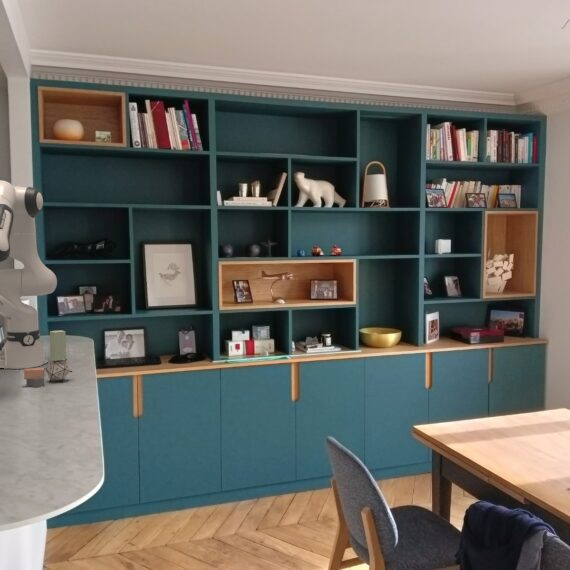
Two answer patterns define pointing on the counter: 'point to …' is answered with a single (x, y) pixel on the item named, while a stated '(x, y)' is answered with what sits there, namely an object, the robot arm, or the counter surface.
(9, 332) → the robot arm
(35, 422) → the counter surface
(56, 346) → the green block
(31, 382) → the charcoal brick
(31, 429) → the counter surface
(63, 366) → the game die
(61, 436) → the counter surface
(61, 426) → the counter surface
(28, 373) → the terracotta brick
